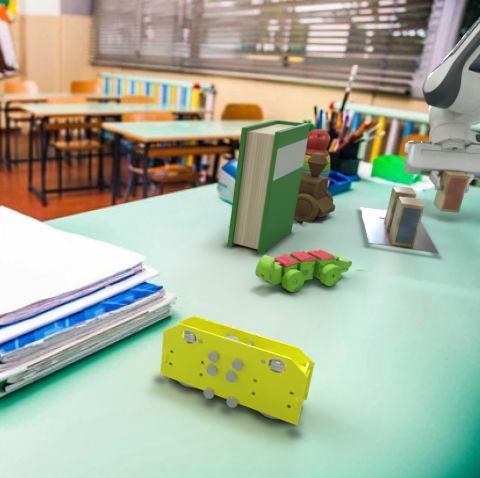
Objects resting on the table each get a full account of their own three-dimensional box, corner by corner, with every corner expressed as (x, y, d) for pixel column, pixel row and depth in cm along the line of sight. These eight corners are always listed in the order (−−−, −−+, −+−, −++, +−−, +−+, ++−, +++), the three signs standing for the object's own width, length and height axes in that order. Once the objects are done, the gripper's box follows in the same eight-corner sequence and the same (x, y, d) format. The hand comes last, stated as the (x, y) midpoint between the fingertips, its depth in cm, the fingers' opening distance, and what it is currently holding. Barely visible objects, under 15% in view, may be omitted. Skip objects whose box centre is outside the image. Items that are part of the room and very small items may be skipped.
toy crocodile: (330, 267, 93) (337, 237, 91) (358, 282, 87) (365, 250, 85) (242, 280, 86) (247, 248, 84) (265, 298, 80) (271, 263, 78)
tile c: (450, 206, 123) (460, 170, 120) (459, 213, 118) (469, 176, 115) (433, 204, 124) (442, 169, 121) (440, 211, 119) (450, 174, 116)
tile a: (402, 224, 116) (412, 187, 113) (406, 233, 110) (416, 194, 107) (384, 222, 117) (392, 185, 114) (386, 230, 112) (396, 192, 108)
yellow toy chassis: (158, 381, 59) (162, 321, 56) (177, 358, 63) (182, 301, 60) (295, 434, 51) (309, 367, 48) (305, 403, 56) (319, 341, 53)
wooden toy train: (240, 208, 126) (248, 143, 120) (261, 200, 134) (270, 138, 128) (316, 228, 114) (330, 156, 108) (335, 217, 121) (349, 150, 115)
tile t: (409, 238, 107) (419, 198, 104) (413, 248, 102) (424, 206, 98) (388, 235, 108) (398, 196, 105) (391, 244, 103) (402, 203, 100)
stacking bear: (294, 183, 153) (304, 125, 146) (328, 188, 148) (340, 129, 142) (285, 190, 144) (295, 129, 138) (321, 196, 139) (334, 133, 133)
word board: (415, 217, 124) (416, 214, 124) (438, 256, 100) (439, 252, 100) (359, 210, 129) (360, 206, 128) (367, 246, 104) (368, 242, 104)
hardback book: (261, 254, 97) (280, 132, 89) (227, 245, 101) (241, 127, 93) (291, 232, 111) (310, 123, 102) (260, 224, 115) (275, 119, 106)
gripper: (408, 132, 124) (408, 179, 119) (502, 138, 119) (506, 187, 113) (400, 147, 130) (400, 192, 124) (489, 153, 124) (493, 201, 119)
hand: (451, 190), depth 119 cm, fingers closed on tile c, 4 cm apart
